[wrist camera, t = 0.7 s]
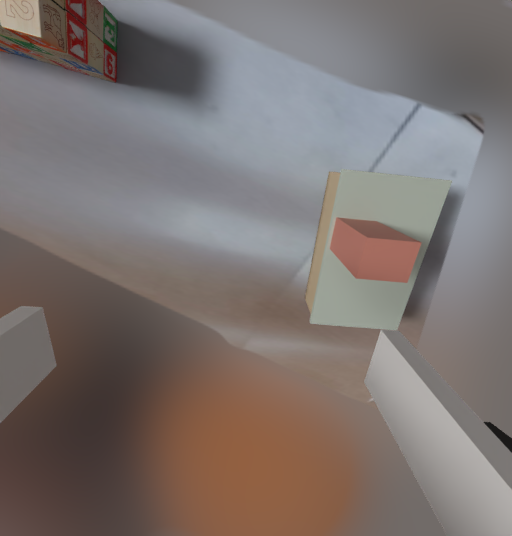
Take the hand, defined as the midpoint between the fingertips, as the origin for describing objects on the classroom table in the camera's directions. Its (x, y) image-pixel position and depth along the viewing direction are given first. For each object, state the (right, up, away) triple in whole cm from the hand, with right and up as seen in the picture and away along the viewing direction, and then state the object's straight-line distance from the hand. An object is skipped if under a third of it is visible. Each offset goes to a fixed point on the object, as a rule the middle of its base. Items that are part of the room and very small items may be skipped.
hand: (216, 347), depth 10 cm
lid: (+17, +4, +23) cm, 29 cm away
